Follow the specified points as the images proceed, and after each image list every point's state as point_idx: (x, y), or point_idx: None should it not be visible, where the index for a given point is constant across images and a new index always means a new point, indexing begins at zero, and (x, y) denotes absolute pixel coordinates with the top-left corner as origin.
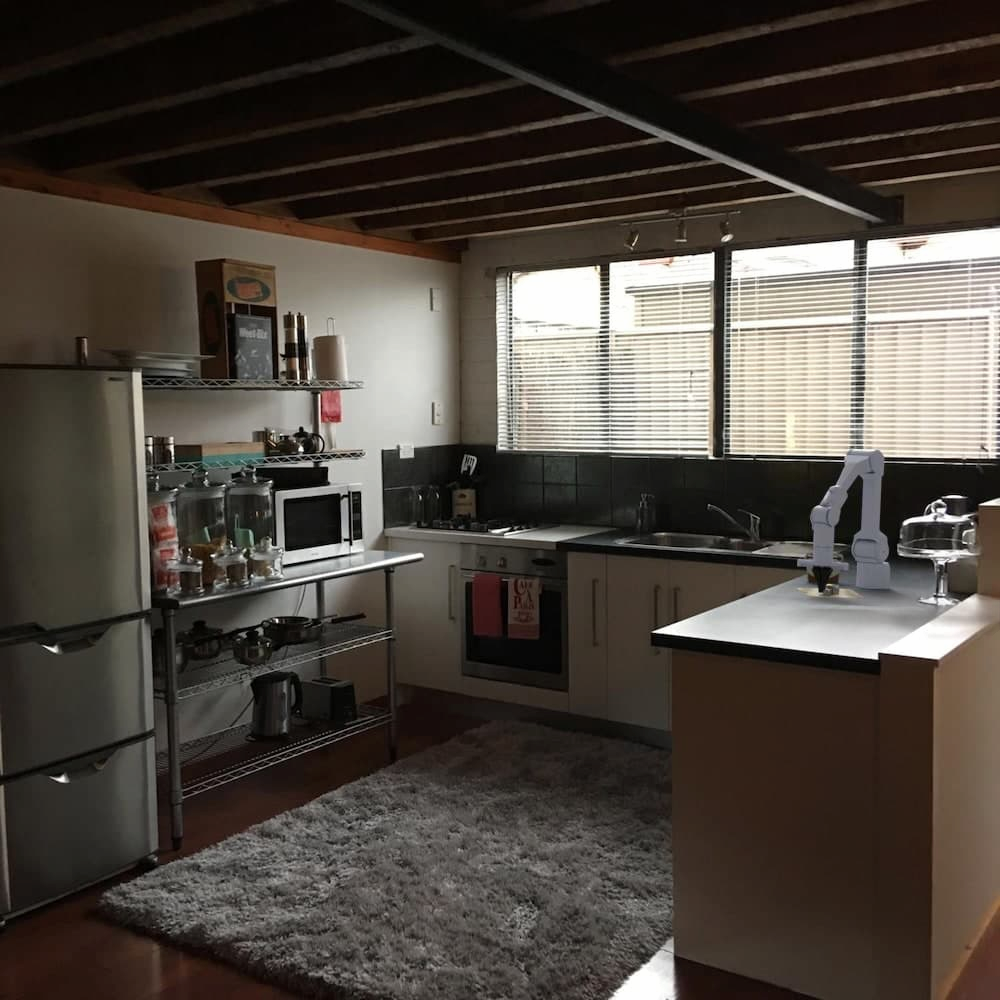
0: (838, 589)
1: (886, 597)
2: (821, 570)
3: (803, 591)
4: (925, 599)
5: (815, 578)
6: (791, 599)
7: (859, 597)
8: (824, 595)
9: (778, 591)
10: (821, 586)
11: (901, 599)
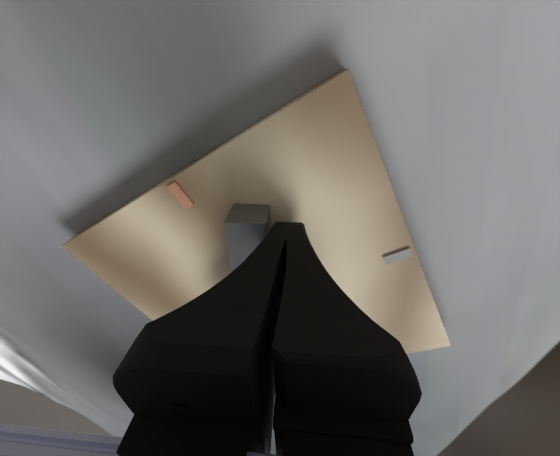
0: None
1: (98, 345)
2: (230, 356)
3: (412, 274)
4: (9, 357)
5: (336, 283)
6: (510, 2)
7: (87, 246)
8: (261, 205)
9: (555, 292)
10: (277, 241)
11: (42, 334)
